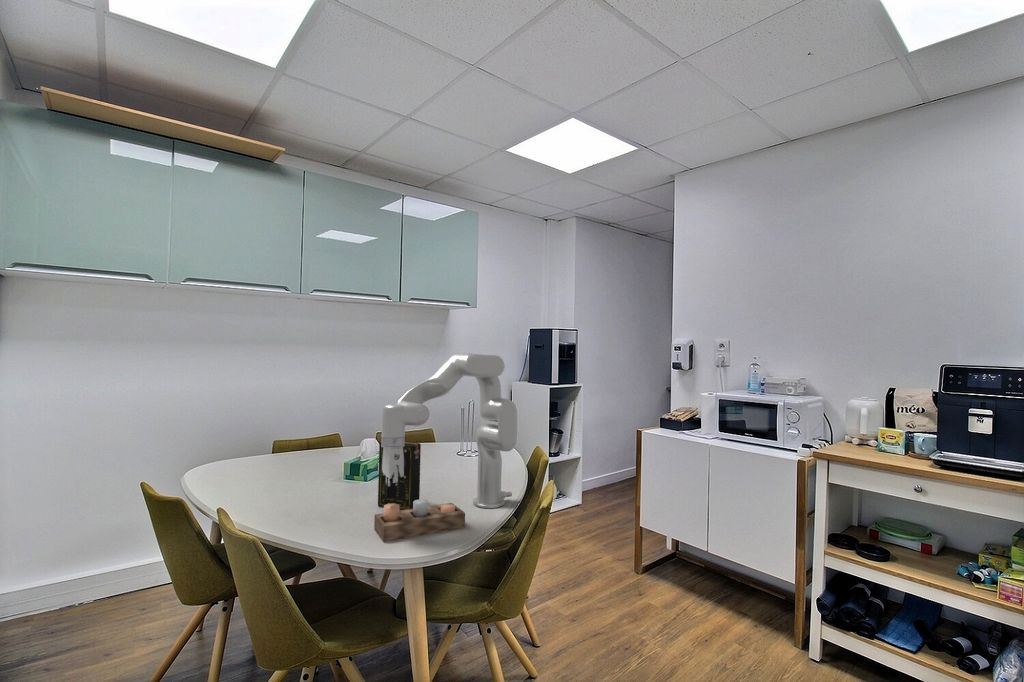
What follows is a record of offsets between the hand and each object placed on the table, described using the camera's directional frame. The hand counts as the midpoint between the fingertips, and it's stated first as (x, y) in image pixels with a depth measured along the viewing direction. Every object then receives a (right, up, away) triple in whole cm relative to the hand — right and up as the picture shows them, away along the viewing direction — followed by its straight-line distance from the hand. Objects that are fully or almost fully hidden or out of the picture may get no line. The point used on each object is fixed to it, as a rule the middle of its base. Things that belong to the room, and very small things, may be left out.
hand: (390, 497), depth 157 cm
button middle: (+9, -8, +5) cm, 13 cm away
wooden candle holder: (+9, -12, +5) cm, 16 cm away
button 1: (0, -8, 0) cm, 8 cm away
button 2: (+17, -12, +10) cm, 23 cm away
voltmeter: (-4, -13, +27) cm, 30 cm away
